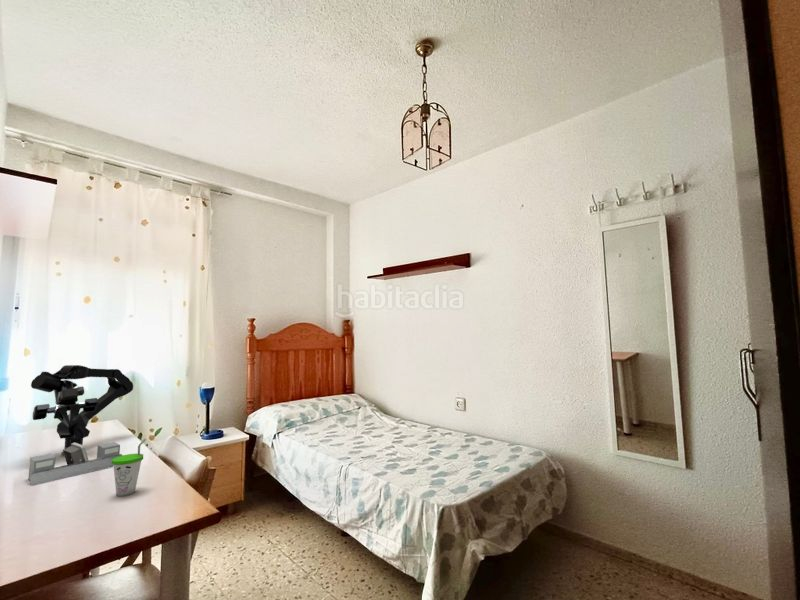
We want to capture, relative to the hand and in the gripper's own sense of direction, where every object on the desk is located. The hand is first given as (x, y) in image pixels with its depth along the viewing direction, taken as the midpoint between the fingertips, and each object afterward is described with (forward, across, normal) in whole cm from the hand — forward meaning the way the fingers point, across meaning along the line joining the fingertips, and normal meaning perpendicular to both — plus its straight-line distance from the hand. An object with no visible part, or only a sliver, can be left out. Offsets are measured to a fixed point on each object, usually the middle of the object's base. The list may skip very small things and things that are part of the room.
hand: (69, 426), depth 141 cm
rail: (+23, -1, -4) cm, 23 cm away
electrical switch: (+19, 0, 0) cm, 19 cm away
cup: (+46, +3, -28) cm, 54 cm away
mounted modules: (+20, -1, -1) cm, 20 cm away
